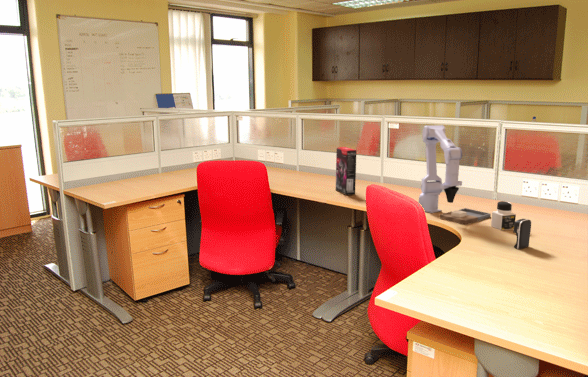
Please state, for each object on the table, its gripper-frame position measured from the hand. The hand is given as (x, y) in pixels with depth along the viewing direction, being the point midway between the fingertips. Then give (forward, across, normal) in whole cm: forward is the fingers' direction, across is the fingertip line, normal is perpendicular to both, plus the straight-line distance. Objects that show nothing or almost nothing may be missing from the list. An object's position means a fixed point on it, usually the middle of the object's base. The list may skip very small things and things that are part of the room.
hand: (450, 202), depth 218 cm
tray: (+10, +19, 0) cm, 21 cm away
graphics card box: (+10, +9, +79) cm, 80 cm away
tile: (+8, +8, 0) cm, 11 cm away
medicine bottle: (+10, +12, -20) cm, 25 cm away
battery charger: (+10, -8, -38) cm, 40 cm away
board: (+10, +8, 0) cm, 13 cm away
